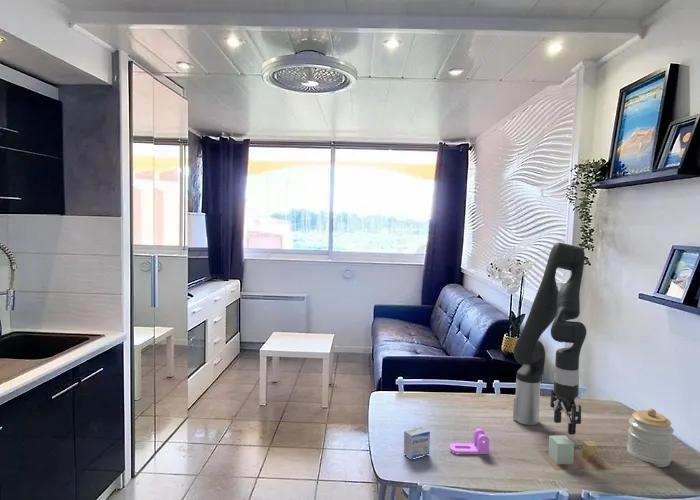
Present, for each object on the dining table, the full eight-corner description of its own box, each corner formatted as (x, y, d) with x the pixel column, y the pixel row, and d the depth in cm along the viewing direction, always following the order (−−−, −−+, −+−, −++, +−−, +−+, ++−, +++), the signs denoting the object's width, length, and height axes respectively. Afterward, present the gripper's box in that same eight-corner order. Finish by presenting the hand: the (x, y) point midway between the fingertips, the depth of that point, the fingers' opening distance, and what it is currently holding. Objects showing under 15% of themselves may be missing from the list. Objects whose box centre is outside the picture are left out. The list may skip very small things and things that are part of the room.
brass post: (587, 461, 154) (588, 445, 153) (581, 456, 157) (582, 441, 156) (596, 461, 154) (597, 445, 153) (590, 456, 157) (591, 440, 157)
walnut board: (555, 474, 148) (555, 469, 148) (537, 454, 160) (537, 450, 160) (614, 472, 150) (614, 468, 150) (592, 453, 162) (592, 449, 162)
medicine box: (410, 461, 155) (411, 436, 154) (403, 454, 159) (403, 430, 158) (429, 455, 158) (430, 431, 158) (421, 449, 162) (422, 426, 162)
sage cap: (556, 464, 152) (557, 443, 151) (548, 455, 157) (549, 435, 157) (573, 463, 152) (574, 443, 151) (564, 455, 158) (565, 435, 157)
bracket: (483, 447, 165) (484, 428, 165) (488, 455, 160) (489, 436, 159) (447, 446, 165) (448, 428, 164) (451, 455, 159) (452, 435, 159)
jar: (654, 471, 151) (658, 419, 150) (618, 452, 163) (621, 404, 162) (679, 463, 156) (683, 413, 155) (642, 445, 168) (645, 399, 167)
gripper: (544, 373, 159) (542, 419, 160) (567, 388, 145) (565, 438, 146) (565, 373, 160) (563, 418, 161) (590, 388, 146) (587, 437, 147)
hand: (564, 428), depth 153 cm, fingers open, 8 cm apart
